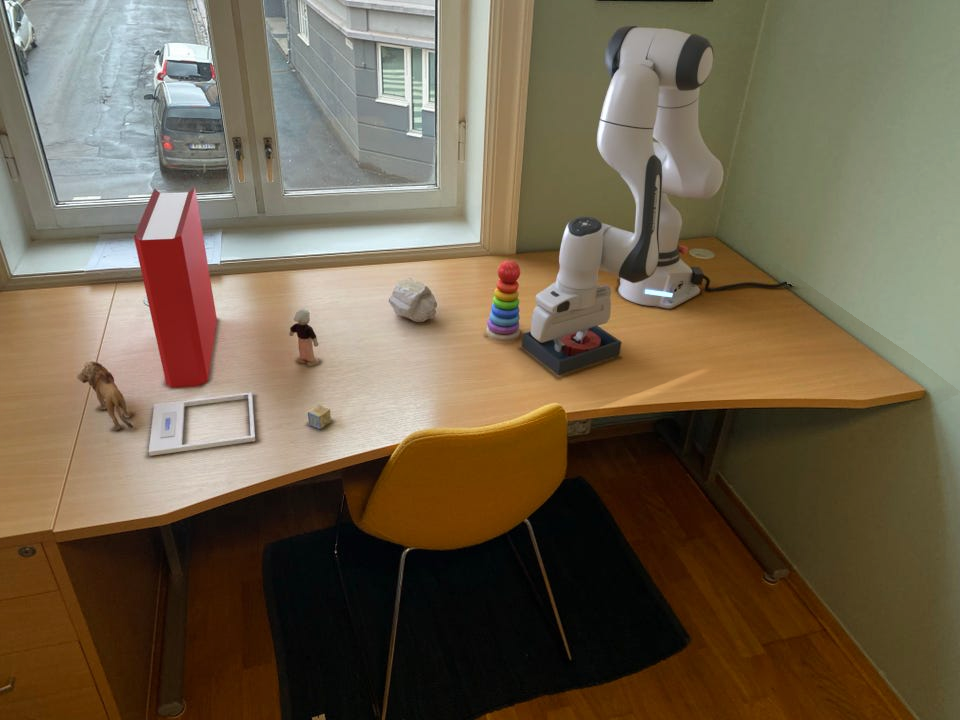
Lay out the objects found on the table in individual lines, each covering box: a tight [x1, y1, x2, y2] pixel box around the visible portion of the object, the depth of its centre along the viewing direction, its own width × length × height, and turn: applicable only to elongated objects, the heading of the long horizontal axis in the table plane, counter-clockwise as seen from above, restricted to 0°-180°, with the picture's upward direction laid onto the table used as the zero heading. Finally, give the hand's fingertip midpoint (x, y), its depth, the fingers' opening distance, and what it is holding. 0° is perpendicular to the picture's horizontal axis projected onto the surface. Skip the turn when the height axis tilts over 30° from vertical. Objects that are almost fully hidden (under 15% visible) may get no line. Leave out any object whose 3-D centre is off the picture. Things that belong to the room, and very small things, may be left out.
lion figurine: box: [76, 360, 134, 431], centre depth 136 cm, size 15×5×9 cm, turn 50°
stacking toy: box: [485, 260, 521, 342], centre depth 166 cm, size 8×8×19 cm
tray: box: [521, 325, 623, 376], centre depth 164 cm, size 18×14×4 cm
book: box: [133, 187, 218, 389], centre depth 149 cm, size 27×8×32 cm, turn 13°
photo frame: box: [148, 391, 256, 457], centre depth 137 cm, size 15×1×18 cm
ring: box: [560, 330, 601, 356], centre depth 166 cm, size 9×9×2 cm
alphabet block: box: [307, 404, 332, 430], centre depth 138 cm, size 3×3×3 cm
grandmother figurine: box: [288, 307, 320, 367], centre depth 154 cm, size 8×4×13 cm, turn 71°
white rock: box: [388, 277, 438, 323], centre depth 174 cm, size 12×8×10 cm
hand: (568, 347), depth 164 cm, fingers open, 4 cm apart
